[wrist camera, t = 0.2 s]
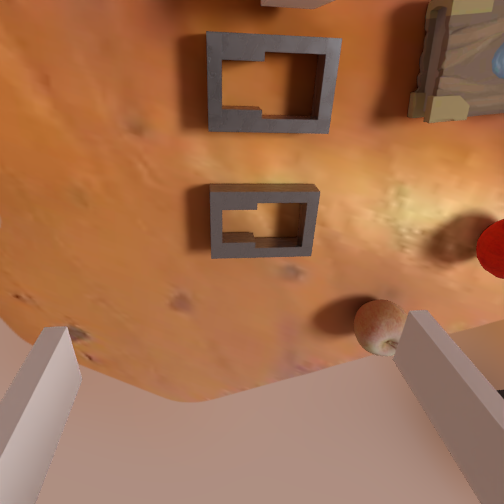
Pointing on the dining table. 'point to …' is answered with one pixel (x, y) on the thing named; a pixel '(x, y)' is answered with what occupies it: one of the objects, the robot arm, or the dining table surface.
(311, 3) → the bar
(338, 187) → the dining table surface
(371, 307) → the fruit
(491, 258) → the apple
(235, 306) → the dining table surface
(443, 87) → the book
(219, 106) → the keyhole plates
